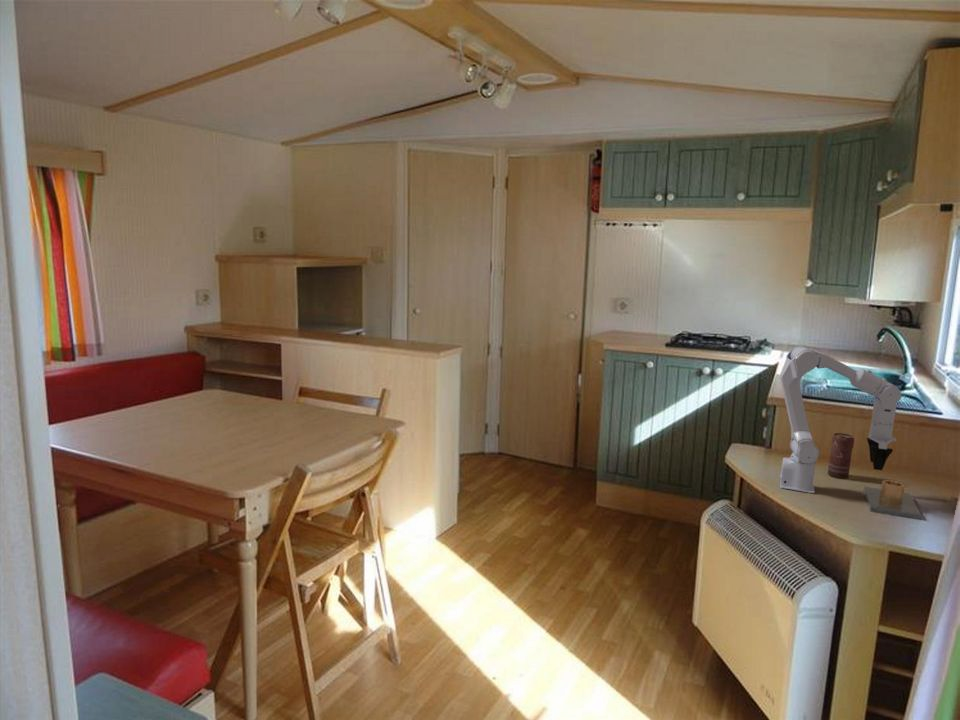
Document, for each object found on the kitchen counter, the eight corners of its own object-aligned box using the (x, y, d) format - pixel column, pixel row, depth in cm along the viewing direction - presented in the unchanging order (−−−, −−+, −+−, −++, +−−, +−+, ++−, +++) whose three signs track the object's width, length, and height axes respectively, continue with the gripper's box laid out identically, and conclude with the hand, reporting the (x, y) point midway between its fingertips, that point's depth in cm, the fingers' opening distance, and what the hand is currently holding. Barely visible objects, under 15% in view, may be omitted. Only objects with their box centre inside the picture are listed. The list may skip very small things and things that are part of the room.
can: (849, 480, 210) (854, 439, 208) (827, 476, 213) (832, 435, 211) (849, 475, 215) (855, 434, 213) (827, 471, 218) (833, 431, 216)
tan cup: (881, 501, 189) (883, 484, 188) (878, 494, 194) (881, 478, 193) (903, 504, 187) (905, 488, 186) (900, 498, 192) (902, 482, 191)
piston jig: (870, 511, 185) (873, 491, 184) (863, 491, 201) (865, 472, 200) (920, 519, 180) (923, 499, 179) (908, 498, 196) (911, 479, 195)
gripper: (902, 429, 186) (895, 475, 188) (894, 418, 199) (888, 461, 201) (873, 426, 188) (867, 471, 191) (867, 415, 201) (861, 457, 204)
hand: (876, 465), depth 196 cm, fingers open, 7 cm apart
